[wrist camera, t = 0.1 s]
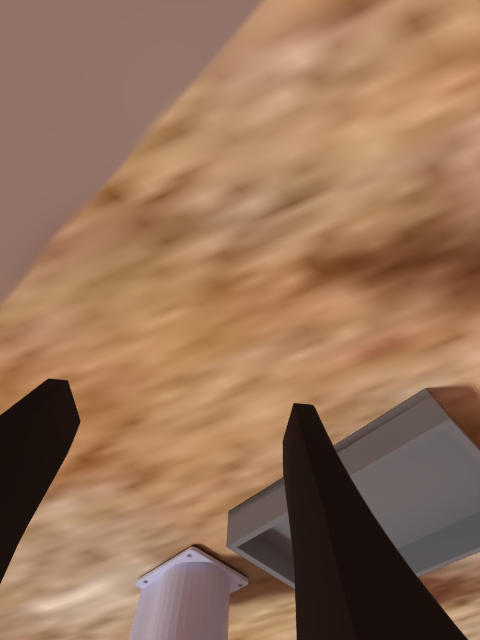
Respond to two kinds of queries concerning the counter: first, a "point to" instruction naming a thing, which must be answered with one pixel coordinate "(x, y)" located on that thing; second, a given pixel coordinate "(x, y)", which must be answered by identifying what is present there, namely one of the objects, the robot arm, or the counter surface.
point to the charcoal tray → (386, 492)
